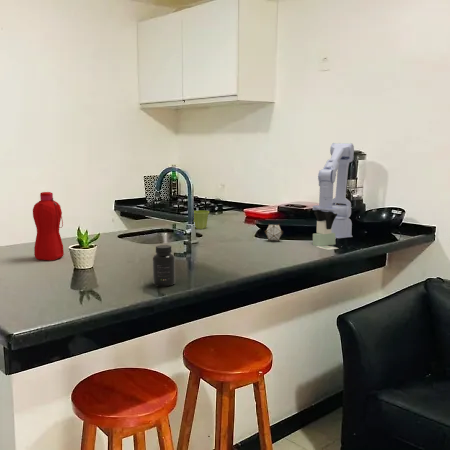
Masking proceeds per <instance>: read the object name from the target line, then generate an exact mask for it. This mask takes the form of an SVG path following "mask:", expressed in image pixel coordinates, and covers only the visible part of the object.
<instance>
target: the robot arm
mask: <svg viewBox="0 0 450 450" xmlns="http://www.w3.org/2000/svg"><path fill="white" fill-rule="evenodd" d="M329 153H330V154H329V155H330V158H329V159H327V161H326V163H325V164H324V166H323V167H322V169H320V170H319V171H318V174H317V175H318V176H317V177H318V178H317V181H318V187H319V194H318V195H319V199H318V202H319V203H318V205H312V211H314V212H313V215H314V216H315V218H316V222H317V221H326V228H327V229H331V228H332V231H331V233H335V239H346V238H353V235H352V228H353V227H352V226H353V223H352V220H351V219H350V217H351V215H352V203H351V201H350V200H349V199H348V198H346V195H347V185H348V176H349V175H348V174H349V166H350V163H353V160H354V153H355V146H354V144H353V143H351V142H350V143H341V142H338V143H336V142H333V143H331V144H330V148H329ZM334 183H336V189H335V197H334Z"/></svg>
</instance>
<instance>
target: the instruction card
mask: <svg viewBox="0 0 450 450" xmlns="http://www.w3.org/2000/svg"><path fill="white" fill-rule="evenodd" d="M314 246H315V245H314ZM315 248H318V249H319V248H320V249H323V250H327V251H329V250H331V251H332V250H337V249H339V248H338V247H336V246H332V245H326V246H315Z"/></svg>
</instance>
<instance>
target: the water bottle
mask: <svg viewBox="0 0 450 450" xmlns="http://www.w3.org/2000/svg"><path fill="white" fill-rule="evenodd" d="M53 195H54V194H53V192H51V191H43V192H40V194H39V198H40V200H39V201H37V202H36V203H35V204H34V205H33V208H32V218H33V221H34V224H35V228H36V237H35V241H34V247H33V249H34V250H33V252H34V254H33V255H34V258H35V259H37V260H39V261H56V260H58V259H61V258H63V256H64V255H65V253H64V244H63V241H62V237H61V234H60V229H61V228H63V226H64V224H63V223H64V222H63V216H62V215H63V212H62V209H61V207H62V206H61V205H60V203H58V202H57V201H56V200H54V196H53ZM60 226H61V227H60Z"/></svg>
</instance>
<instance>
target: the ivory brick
mask: <svg viewBox="0 0 450 450" xmlns="http://www.w3.org/2000/svg"><path fill="white" fill-rule="evenodd" d="M331 231H332V228H331V229H327V228H326V220H324V221H317V220H316V233H320V234H330V233H331Z"/></svg>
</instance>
